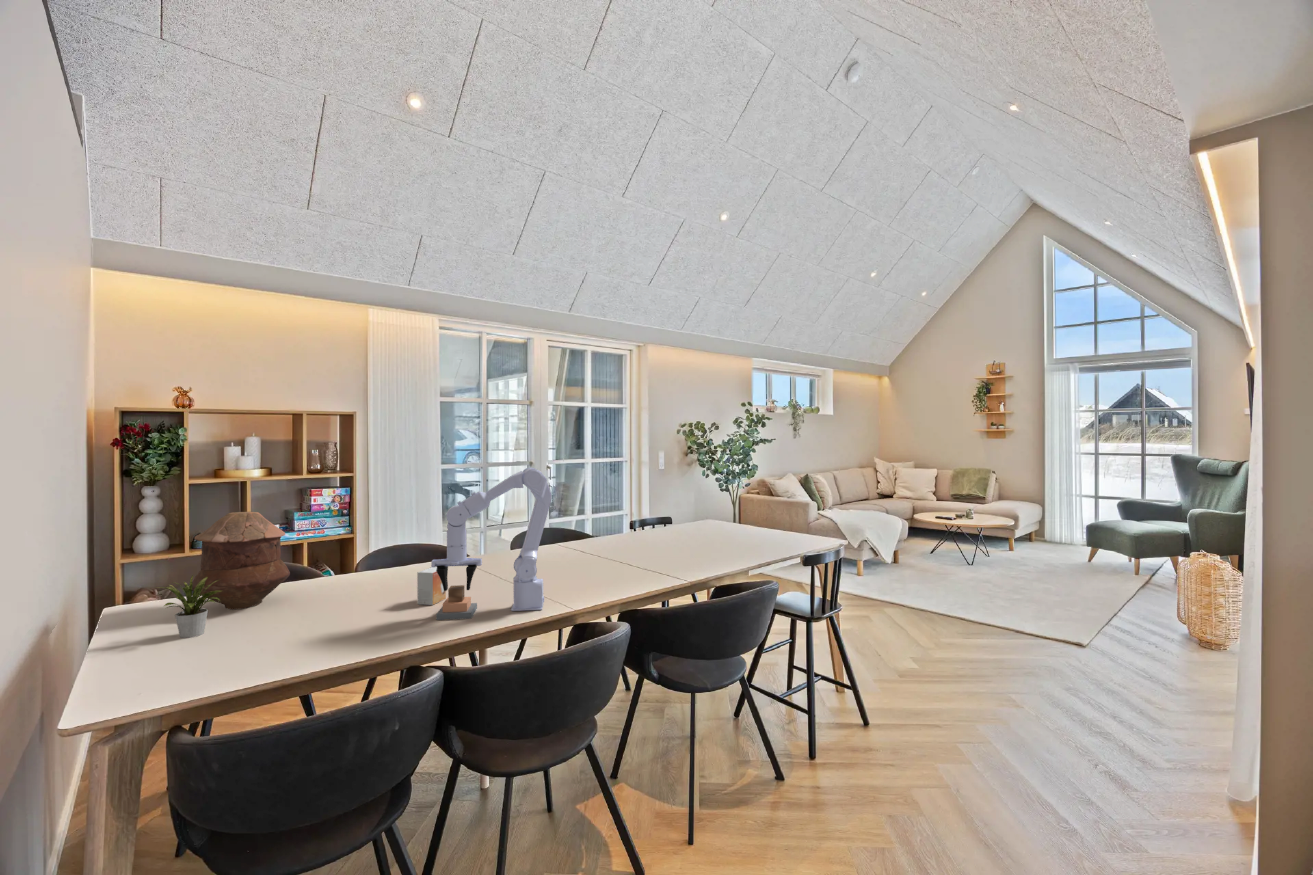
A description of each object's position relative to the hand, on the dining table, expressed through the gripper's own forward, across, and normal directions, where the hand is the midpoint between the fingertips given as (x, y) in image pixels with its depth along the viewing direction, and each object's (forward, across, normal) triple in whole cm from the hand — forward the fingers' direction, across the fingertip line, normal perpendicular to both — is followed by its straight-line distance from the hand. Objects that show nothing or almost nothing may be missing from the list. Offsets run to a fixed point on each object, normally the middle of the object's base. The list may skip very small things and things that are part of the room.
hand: (457, 589), depth 178 cm
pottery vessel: (+8, -71, +20) cm, 74 cm away
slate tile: (+8, 0, 0) cm, 8 cm away
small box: (+8, -11, +15) cm, 20 cm away
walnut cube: (+3, 0, 0) cm, 3 cm away
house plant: (+8, -69, -10) cm, 70 cm away
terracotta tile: (+6, 0, 0) cm, 6 cm away
